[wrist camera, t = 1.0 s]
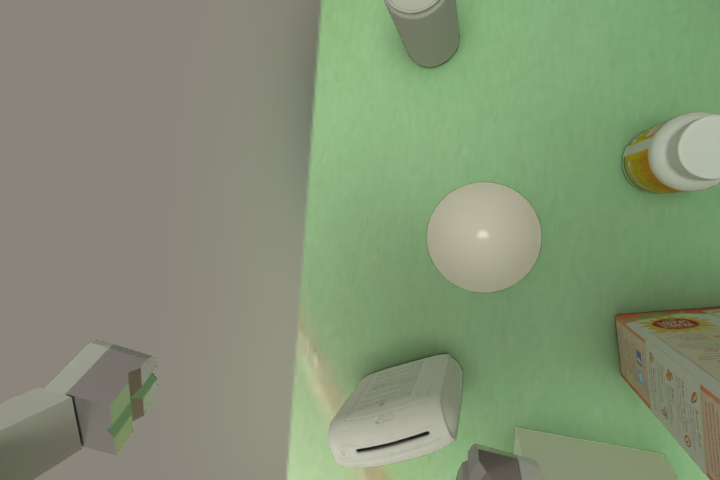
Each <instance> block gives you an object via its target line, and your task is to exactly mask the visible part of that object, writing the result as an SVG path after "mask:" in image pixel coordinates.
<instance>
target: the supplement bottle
mask: <svg viewBox="0 0 720 480" xmlns="http://www.w3.org/2000/svg"><path fill="white" fill-rule="evenodd" d="M622 166H623V170H624V173H625V175H626V177H627V179H628V180H629V182H630V183H631V184H632V185H634V186H635V187H636V188H638V189H640V190H642V191H645V192H649V193H674V192H690V191H700V190H704V189H707V188H710V187H713V186H715V185H717V184H719V183H720V115H714V114H710V113H704V112H694V113H687V114H683V115H680V116H677V117H675V118H672V119H670V120H668V121H665V122H663V123H661V124H659V125H656V126H654V127H652V128H650V129H648V130H645V131H644V132H642V133H640V134H638V135H637V136H636V137H635V138H633V139H632V140H631V141H630V143H629V144H628V145H627V147H626V149H625V151H624V154H623V159H622Z"/></svg>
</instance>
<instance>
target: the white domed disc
mask: <svg viewBox="0 0 720 480" xmlns="http://www.w3.org/2000/svg"><path fill="white" fill-rule="evenodd" d="M541 240H542V235H541V227H540V222H539V220H538V217H537V215H536V213H535V211H534V209H533V208H532V206H531V205H530V204H529V202H528V201H527V200H526V199H525V198H524V197H523V196H521V195H520V194H519V193H518V192H516V191H514V190H513V189H511V188H508V187H506V186H504V185H500V184H496V183H489V182H480V183H473V184H469V185H465V186H463V187H460V188H458V189H456V190H454V191H453V192H451V193H450V194H448V195H447V196H446V197H445V198H444V199H443V200H442V201H441V202H440V203H439V204H438V206H437V207H436V209H435V210H434V212H433V214H432V216H431V218H430V221H429V225H428V230H427V246H428V250H429V254H430V257H431V259H432V261H433V263H434V265H435V267H436V268H437V270H438V271H439V272H440V273H441V274H442V275H443V276H444V277H445V278H446V279H447V280H448V281H449V282H451V283H453V284H454V285H456V286H458V287H460V288H462V289H465V290H468V291H473V292H480V293H488V292H496V291H500V290H503V289H506V288H508V287H510V286H513V285H514V284H516V283H517V282H519V281H520V280H521V279H523V278H524V277H525V276H526V275H527V274H528V273H529V271H530V270H531V269H532V267H533V266H534V264H535V262H536V260H537V258H538V255H539V252H540V248H541Z"/></svg>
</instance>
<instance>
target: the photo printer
mask: <svg viewBox="0 0 720 480" xmlns="http://www.w3.org/2000/svg"><path fill="white" fill-rule="evenodd" d="M462 380H463V373H462V369H461V367H460V365H459V364H458V362H457V361H456V360H454V359H453V358H452V357H450V355H449V354H443V355H436V356H431V357H427V358H423V359H420V360H416V361H412V362H408V363H405V364H401V365H398V366H394V367H391V368H388V369H384V370H381V371H378V372H375V373H372V374H370V375H368V376H366V377H364V378H363V379H361V380H360V382H359V383H358V385H357V386H356V388H355V389H354V390H353V392H352V393H351V395H350V396H349V398H348V399H347V400H346V402H345V403H344V405H343V406H342V407H341V409H340V410H339V412H338V413H337V414H336V416H335V417H334V419H333V420H332V422H331V424H330V428H329V447H330V449H331V450H332V452H333V456H334V460H335V462H336V463H337V464H338V465H340V466H343V467H350V468H366V467H375V466H382V465H388V464H393V463H397V462H402V461H406V460H410V459H413V458H417V457H420V456H423V455H426V454H429V453H432V452H435V451H437V450H440V449H442V448H444V447H446V446H448V445H449V444H451V443H452V442H454V441H455V440H456V439H457V433H458V426H459V418H460V409H461V401H462Z"/></svg>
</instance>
